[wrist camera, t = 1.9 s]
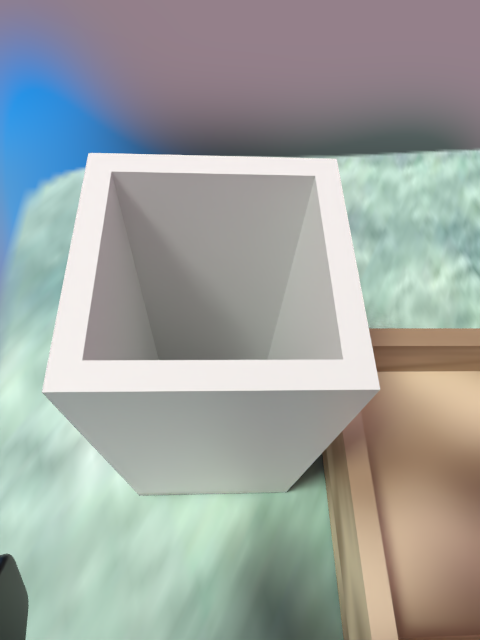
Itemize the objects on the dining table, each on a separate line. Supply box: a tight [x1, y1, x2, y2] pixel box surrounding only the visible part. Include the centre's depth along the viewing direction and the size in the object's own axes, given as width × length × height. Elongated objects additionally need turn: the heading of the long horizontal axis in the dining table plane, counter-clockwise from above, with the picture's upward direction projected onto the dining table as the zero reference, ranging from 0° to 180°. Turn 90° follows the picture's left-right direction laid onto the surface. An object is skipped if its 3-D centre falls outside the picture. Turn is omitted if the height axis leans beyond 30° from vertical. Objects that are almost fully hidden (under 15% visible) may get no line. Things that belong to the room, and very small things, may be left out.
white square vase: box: [42, 153, 380, 495], centre depth 15 cm, size 6×6×12 cm
